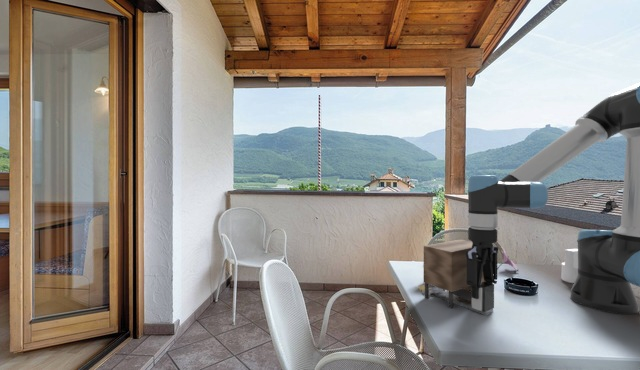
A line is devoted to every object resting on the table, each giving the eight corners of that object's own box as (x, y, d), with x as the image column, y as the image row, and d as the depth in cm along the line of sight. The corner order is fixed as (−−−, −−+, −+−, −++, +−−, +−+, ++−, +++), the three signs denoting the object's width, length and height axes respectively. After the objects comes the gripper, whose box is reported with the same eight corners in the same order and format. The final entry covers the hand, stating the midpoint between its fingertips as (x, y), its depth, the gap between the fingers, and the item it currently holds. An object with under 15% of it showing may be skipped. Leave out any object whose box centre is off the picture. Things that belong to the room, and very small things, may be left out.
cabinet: (487, 294, 97) (487, 244, 97) (451, 308, 87) (451, 252, 86) (459, 285, 106) (459, 239, 106) (423, 297, 95) (423, 245, 95)
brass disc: (433, 290, 102) (433, 287, 102) (426, 293, 99) (426, 290, 99) (422, 287, 105) (422, 284, 105) (416, 290, 102) (416, 286, 102)
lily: (508, 278, 117) (522, 259, 115) (482, 261, 126) (494, 242, 125) (518, 281, 124) (532, 263, 122) (493, 265, 133) (505, 247, 132)
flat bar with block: (496, 310, 86) (496, 283, 86) (481, 316, 81) (481, 288, 81) (437, 289, 103) (437, 266, 102) (422, 293, 98) (422, 270, 98)
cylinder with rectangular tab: (581, 286, 105) (582, 253, 105) (555, 278, 114) (555, 248, 114) (598, 283, 108) (599, 251, 108) (572, 276, 117) (572, 246, 116)
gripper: (485, 223, 93) (485, 296, 93) (452, 228, 83) (452, 309, 84) (511, 226, 87) (511, 304, 87) (478, 232, 77) (478, 319, 77)
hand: (482, 306), depth 85 cm, fingers closed on flat bar with block, 5 cm apart
